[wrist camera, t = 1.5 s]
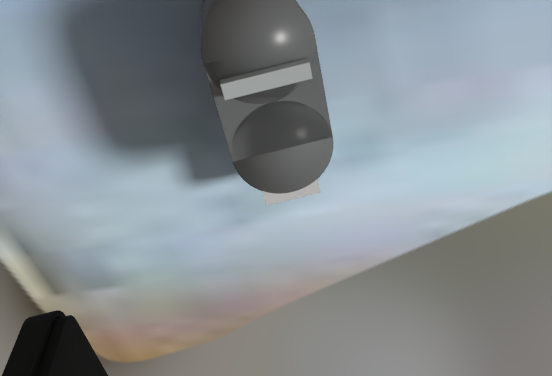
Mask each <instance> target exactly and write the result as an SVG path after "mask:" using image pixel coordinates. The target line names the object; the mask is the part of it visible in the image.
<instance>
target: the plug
mask: <svg viewBox="0 0 552 376" xmlns="http://www.w3.org/2000/svg"><path fill="white" fill-rule="evenodd" d="M201 51H202V59H203V63H204V67H205V70H206V73H207V77H208V80H209V83H210V87H211V90H212V94H213V97H214V100H215V104H216V107H217V110H218V114H219V117H220V121H221V124H222V127H223V131H224V134H225V137H226V141H227V144H228V148H229V151H230V154H231V158H232V161H233V164H234V166H235V169H236V170H237V172H238V174H239V175H240V176H241V178H242V179H243V180H244V181H246V182H247V183H248V184H249V185H251V186H253V187H254V188H256V189H259V190H261V191H263V195H264V198H265V202H266V206H267V205H271V204H275V203H279V202H283V201H287V200H291V199H295V198H299V197H303V196H307V195H312V194H316V193H320V189H319V184H318V178H319V177H320V176H321V174H322V173H323V172H324V171H325V169H326V168H327V166H328V164H329V162H330V159H331V156H332V152H333V136H332V131H331V125H330V120H329V114H328V108H327V103H326V97H325V91H324V86H323V80H322V75H321V69H320V63H319V58H318V52H317V46H316V41H315V35H314V31H313V28H312V25H311V23H310V21H309V19H308V17H307V15H306V14H305V13H304V11H303V10H302V9H301V7H300V6H299V4H298V3H297V2H296V0H204V3H203V19H202V46H201Z"/></svg>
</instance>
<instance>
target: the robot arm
mask: <svg viewBox="0 0 552 376" xmlns="http://www.w3.org/2000/svg"><path fill="white" fill-rule="evenodd" d="M2 376H108V375H107V373H106V371H105V369H104V368H103V366H102V364H101V362H100V361H99V359H98V357H97V355H96V354H95V352H94V350H93V348H92V347H91V345H90V343H89V342H88V340H87V338H86V336H85V335H84V333H83V331H82V329H81V328H80V326H79V324H78V322H77V321H76V319H75V318H74V317H73V316H72V315H69V316H65V314H64V313H63V312H61V311H53V312H49V313H45V314H41V315H37V316H33V317H29V318H27V319H26V320H25V322H24V323H23V325H22V328H21V330H20V333H19V335H18V338H17V340H16V343H15V345H14V348H13V350H12V352H11V355H10V357H9V360H8V362H7V365H6V367H5V370H4V372H3V374H2Z"/></svg>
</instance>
